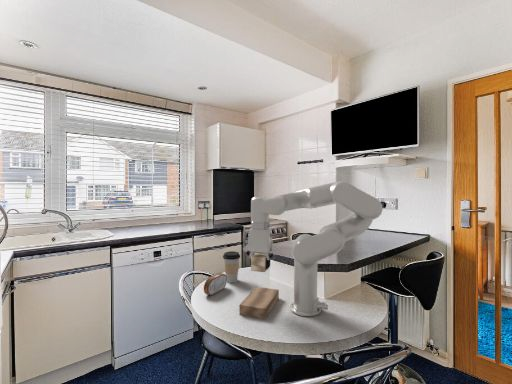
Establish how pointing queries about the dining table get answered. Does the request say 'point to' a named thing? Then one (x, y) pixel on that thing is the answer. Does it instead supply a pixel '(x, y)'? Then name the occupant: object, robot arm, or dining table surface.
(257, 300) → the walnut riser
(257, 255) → the birch cube
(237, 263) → the coffee cup
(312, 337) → the dining table surface
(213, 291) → the tin
